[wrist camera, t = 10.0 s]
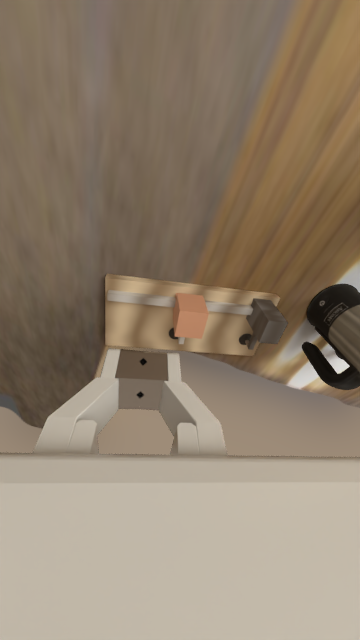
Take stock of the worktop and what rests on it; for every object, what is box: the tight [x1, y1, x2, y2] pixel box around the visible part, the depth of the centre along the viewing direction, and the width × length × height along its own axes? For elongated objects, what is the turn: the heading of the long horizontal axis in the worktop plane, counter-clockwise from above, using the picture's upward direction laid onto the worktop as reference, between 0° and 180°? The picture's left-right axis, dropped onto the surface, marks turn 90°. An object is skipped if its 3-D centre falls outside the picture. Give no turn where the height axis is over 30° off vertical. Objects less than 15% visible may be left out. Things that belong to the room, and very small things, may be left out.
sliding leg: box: [173, 293, 209, 344], centre depth 37 cm, size 4×9×6 cm, turn 170°
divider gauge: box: [105, 274, 288, 356], centre depth 39 cm, size 28×13×8 cm, turn 80°
